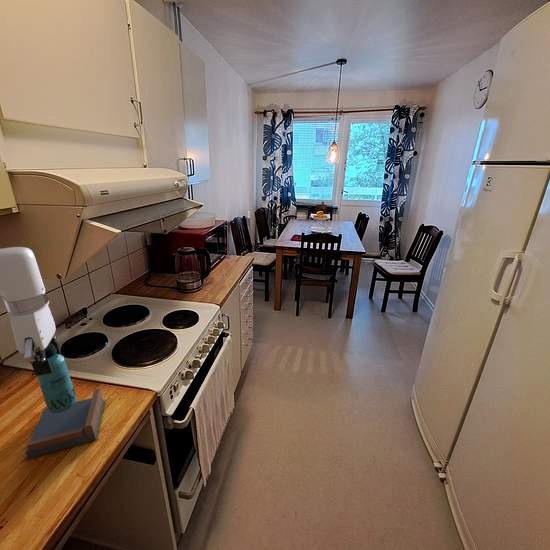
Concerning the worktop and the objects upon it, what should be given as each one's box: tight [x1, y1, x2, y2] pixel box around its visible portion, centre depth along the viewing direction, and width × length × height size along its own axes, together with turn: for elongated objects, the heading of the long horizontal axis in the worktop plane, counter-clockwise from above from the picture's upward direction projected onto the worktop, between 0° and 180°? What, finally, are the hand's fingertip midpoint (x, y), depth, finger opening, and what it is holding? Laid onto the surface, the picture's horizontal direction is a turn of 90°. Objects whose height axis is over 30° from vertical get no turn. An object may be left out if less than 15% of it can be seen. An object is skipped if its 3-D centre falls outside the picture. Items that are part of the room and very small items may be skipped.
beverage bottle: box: [34, 344, 77, 413], centre depth 74 cm, size 6×7×20 cm
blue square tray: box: [24, 387, 105, 459], centre depth 80 cm, size 15×14×6 cm
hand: (49, 363), depth 72 cm, fingers closed on beverage bottle, 6 cm apart
